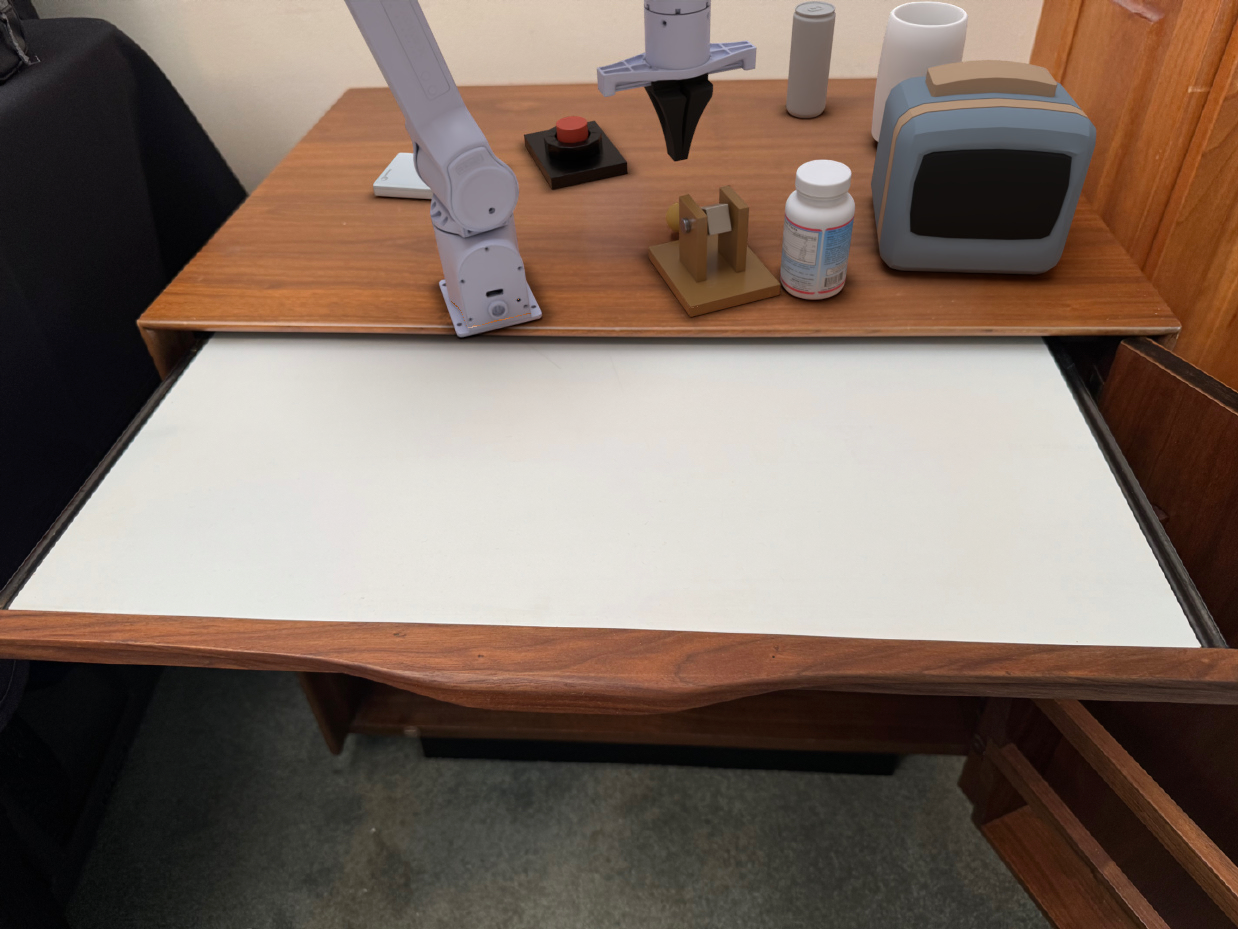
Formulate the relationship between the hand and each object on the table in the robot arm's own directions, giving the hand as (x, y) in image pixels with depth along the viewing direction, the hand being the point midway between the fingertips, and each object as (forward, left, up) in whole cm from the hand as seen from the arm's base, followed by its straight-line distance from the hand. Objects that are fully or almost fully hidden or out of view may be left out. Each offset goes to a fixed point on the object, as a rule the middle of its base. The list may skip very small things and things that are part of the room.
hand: (677, 156), depth 84 cm
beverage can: (+21, -25, -9) cm, 34 cm away
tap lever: (-5, 0, -6) cm, 8 cm away
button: (+21, +5, -6) cm, 22 cm away
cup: (+8, -31, -9) cm, 33 cm away
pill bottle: (-13, -8, -9) cm, 18 cm away
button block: (+21, +5, -8) cm, 23 cm away
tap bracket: (-8, 0, -8) cm, 12 cm away
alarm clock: (-11, -25, -9) cm, 29 cm away
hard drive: (+22, +21, -9) cm, 31 cm away
